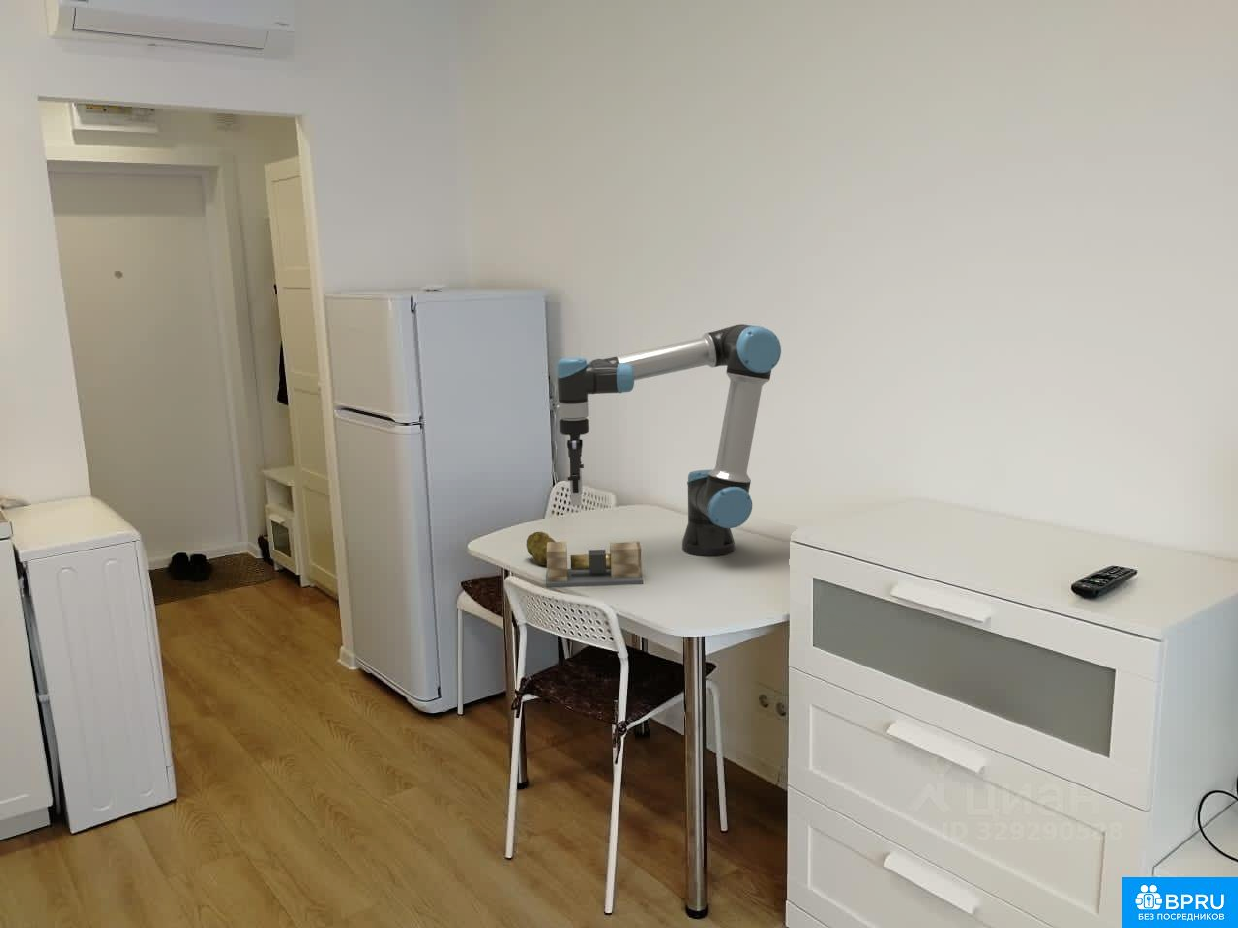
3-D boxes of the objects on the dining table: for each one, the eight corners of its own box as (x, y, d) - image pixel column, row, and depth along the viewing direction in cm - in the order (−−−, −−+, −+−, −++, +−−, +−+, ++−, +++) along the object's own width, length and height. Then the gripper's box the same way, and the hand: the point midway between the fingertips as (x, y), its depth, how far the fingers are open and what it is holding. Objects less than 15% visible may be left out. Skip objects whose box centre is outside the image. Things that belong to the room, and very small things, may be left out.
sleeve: (639, 569, 259) (639, 541, 258) (641, 577, 252) (641, 549, 251) (610, 570, 259) (609, 542, 258) (611, 578, 252) (611, 550, 251)
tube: (635, 567, 258) (634, 548, 257) (636, 572, 254) (636, 553, 253) (570, 569, 257) (570, 550, 256) (570, 574, 253) (570, 555, 252)
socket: (567, 570, 259) (566, 541, 258) (567, 580, 251) (566, 551, 249) (548, 571, 259) (547, 542, 258) (547, 581, 250) (546, 551, 249)
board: (640, 569, 262) (639, 566, 262) (643, 583, 250) (643, 580, 250) (546, 573, 261) (546, 569, 261) (545, 587, 249) (545, 583, 249)
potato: (534, 570, 263) (532, 541, 262) (524, 557, 276) (523, 530, 274) (564, 567, 266) (563, 539, 264) (553, 554, 278) (552, 527, 276)
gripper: (561, 411, 263) (564, 488, 267) (557, 426, 238) (560, 510, 242) (589, 411, 263) (591, 487, 267) (588, 425, 238) (590, 509, 242)
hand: (576, 498), depth 255 cm, fingers open, 13 cm apart
